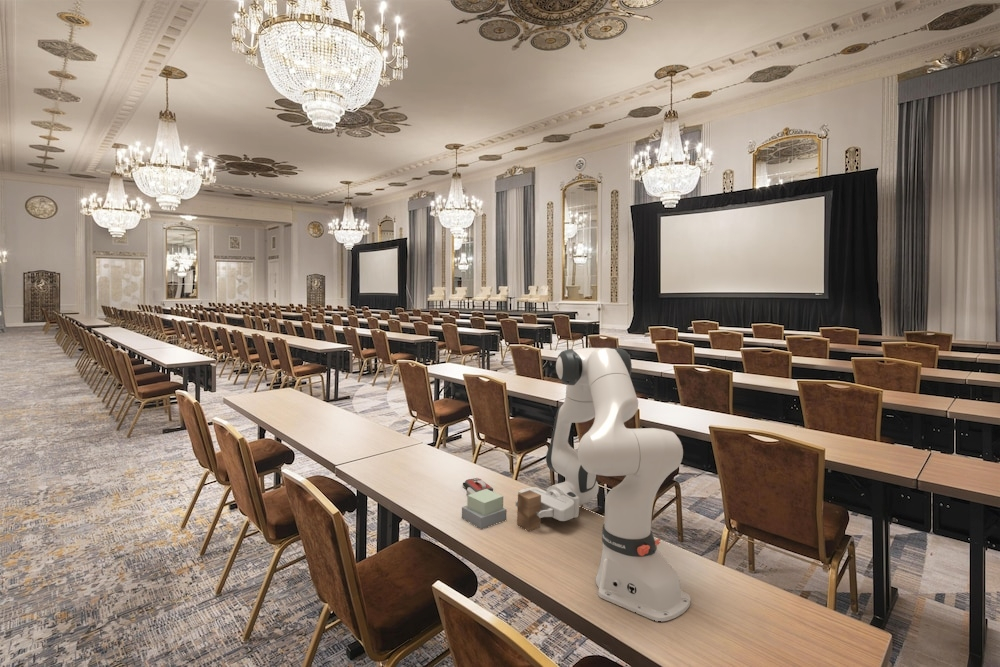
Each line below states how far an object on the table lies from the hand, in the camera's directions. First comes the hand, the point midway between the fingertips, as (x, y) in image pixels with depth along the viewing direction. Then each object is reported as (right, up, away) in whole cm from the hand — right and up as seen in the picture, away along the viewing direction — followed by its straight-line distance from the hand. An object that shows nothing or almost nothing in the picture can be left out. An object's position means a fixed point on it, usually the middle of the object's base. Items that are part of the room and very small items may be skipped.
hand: (527, 509), depth 158 cm
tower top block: (-13, -1, +5) cm, 14 cm away
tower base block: (-13, -5, +5) cm, 15 cm away
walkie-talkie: (-15, -4, +25) cm, 30 cm away
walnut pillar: (0, -5, +1) cm, 6 cm away
